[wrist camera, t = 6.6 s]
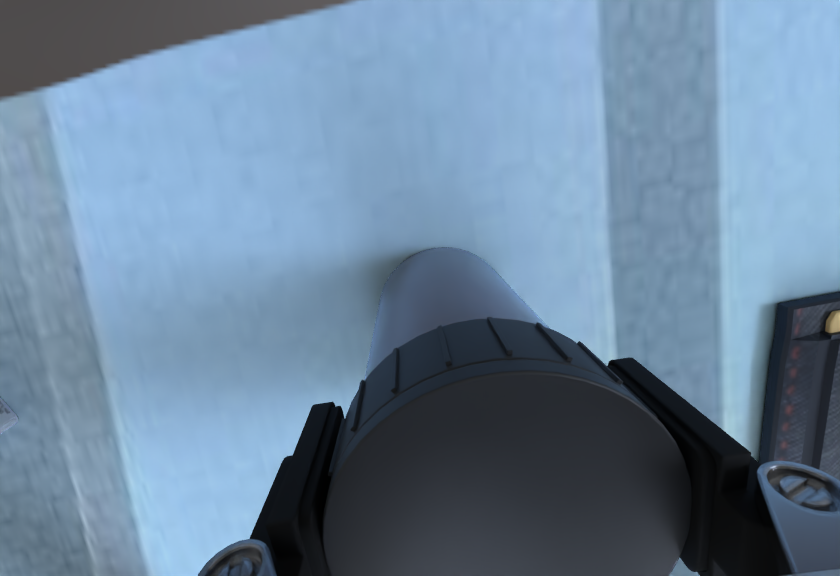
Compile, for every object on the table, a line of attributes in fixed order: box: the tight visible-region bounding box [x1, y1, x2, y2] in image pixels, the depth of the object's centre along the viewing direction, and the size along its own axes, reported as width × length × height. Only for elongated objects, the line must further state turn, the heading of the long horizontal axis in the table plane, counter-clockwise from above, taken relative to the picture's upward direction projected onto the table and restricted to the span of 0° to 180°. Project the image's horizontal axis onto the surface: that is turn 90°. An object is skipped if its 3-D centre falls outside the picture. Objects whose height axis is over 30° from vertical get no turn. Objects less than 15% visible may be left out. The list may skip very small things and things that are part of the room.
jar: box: [364, 247, 550, 381], centre depth 14 cm, size 7×7×13 cm
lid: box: [322, 317, 692, 576], centre depth 9 cm, size 7×7×3 cm
